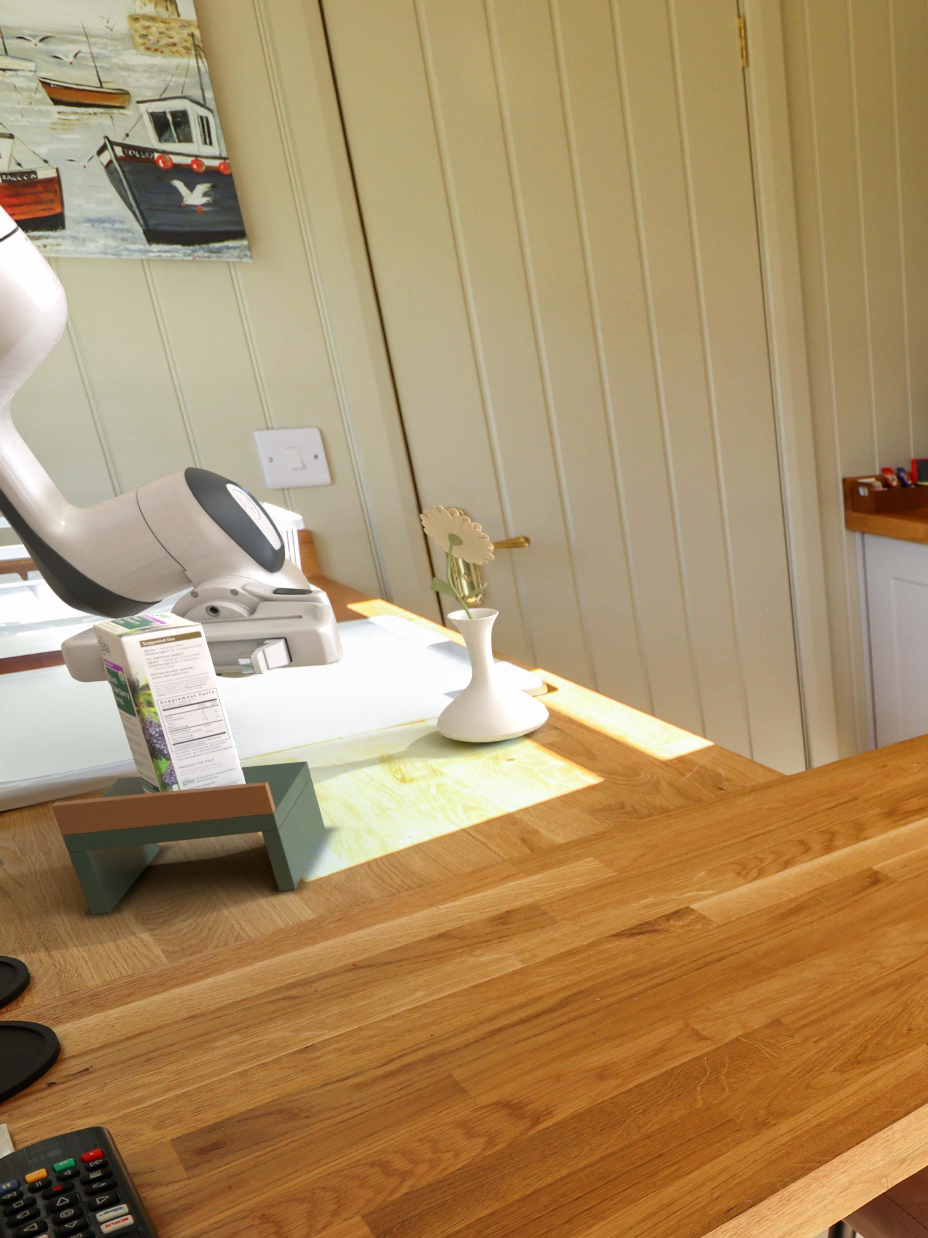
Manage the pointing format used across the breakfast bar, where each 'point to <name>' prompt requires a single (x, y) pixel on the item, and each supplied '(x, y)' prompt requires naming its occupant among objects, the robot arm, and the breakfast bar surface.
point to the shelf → (189, 826)
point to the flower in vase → (477, 646)
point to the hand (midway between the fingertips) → (184, 670)
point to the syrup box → (169, 702)
